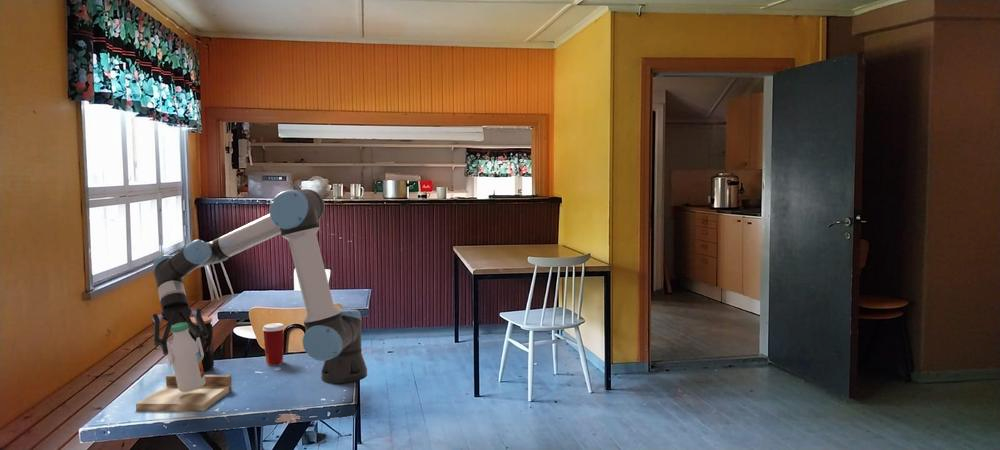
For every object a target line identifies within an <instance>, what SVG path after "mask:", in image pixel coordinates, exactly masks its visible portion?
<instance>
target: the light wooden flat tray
mask: <svg viewBox="0 0 1000 450" xmlns="http://www.w3.org/2000/svg"><path fill="white" fill-rule="evenodd" d="M204 375H205V380H206V382H205V385H204V386H202V387H200V388H198V389H196V390H192V391H187V392H182V391H180V390H179V389H178V386H177V381H176V377H175V373H174V374H173V373H172V374H167V375H166V376H165V381H166V382H165V384H166V385H165V386H163V387H161V388H160V389H158V390H156V391H154V392H153V393H151V394H149V395H148V396H146V397H145V398H143V399H141V400H139V401H138V402H136V403H135V410H136V411H159V412H160V411H165V412H166V411H171V412H172V411H174V412H177V411H178V412H180V411H181V412H204V411H206V410H207V409H208V408H210V407H211V406H213V405H214V404H215V403H216V402H218V401H220V399H222V398H224V397H225V396H226V395H227V394H229V393H230V392H232V390H233V389H232V388H233V387H232V374H204Z"/></svg>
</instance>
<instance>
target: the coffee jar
mask: <svg viewBox="0 0 1000 450" xmlns="http://www.w3.org/2000/svg"><path fill="white" fill-rule="evenodd" d="M201 316H202V315H201ZM202 318H203V321H204V323H205V325H206V327H207V329H208V331H209V334H208V338H206V339H204V342H205V347H204V349H203V353H204V357H203V360H201V361H202V365H203V370H204V373H207V372H210V371H211V370H212V369H213V367H214V365H215V363H214V361H215V359H214V357H215V356H214V355H215V354H214V334H213V332H214V331H213V324H212V321H213V317H211V316H206V315H205V316H204V315H203V316H202ZM190 319H191V321H192V322H193V323H194V324H195V326H196V327H197V328H198V329H199V330H200V328H199V326H198V324H197V322H196V318H194V317H193V316H190ZM188 331H189V334H190V335H191V337H192V338H193V339H194V341H195V342H196V339H197V338H196V337H195V336H194V335H193V334H192V332H191V331H190V330H188ZM200 332H201V330H200Z"/></svg>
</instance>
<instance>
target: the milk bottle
mask: <svg viewBox="0 0 1000 450" xmlns="http://www.w3.org/2000/svg"><path fill="white" fill-rule="evenodd" d="M188 330H189V328H188V323H186V322H182V323H177V324H174V325H172V326H171V329H170V331H171V333H172V336H173V339H172V340H173V341H172V344H171V346H170V347H171V351H172V356H173V363H172V367H173V372H174V374H175V377H176V381H177V386H178V389H179V390H180V391H182V392H187V391H192V390H196V389H198V388H200V387H202V386H204V385H205V382H206V380H205V375H206V374H205V372H204V370H203V365H202V361H201V357H200V352H199V348H198V345H197V344H196V342H195V341H194V339H193V338H192V337H191V335H190V334H189V331H188Z"/></svg>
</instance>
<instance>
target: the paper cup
mask: <svg viewBox="0 0 1000 450" xmlns="http://www.w3.org/2000/svg"><path fill="white" fill-rule="evenodd" d="M285 328H286V327H285V326H284V324H283V323H279V322H277V323H275V322H274V323H267V324H264V326H263V327H262V331H263V341H264V342H263V343H264V350H265V351H264V352H265V362H266V365H267V364H268V366H277V364H279V365H281V364H280V363H282V362H284V343H285V341H284V338H285V335H284V334H285ZM282 364H283V363H282Z"/></svg>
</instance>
